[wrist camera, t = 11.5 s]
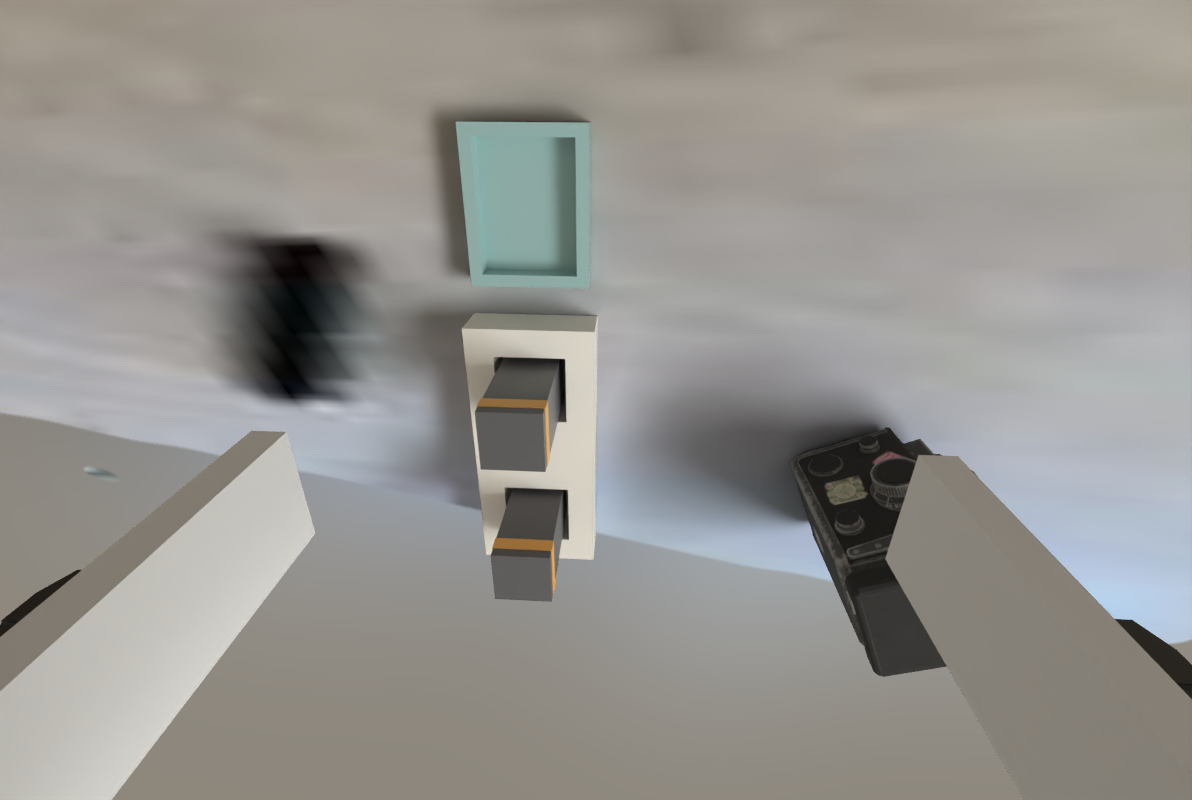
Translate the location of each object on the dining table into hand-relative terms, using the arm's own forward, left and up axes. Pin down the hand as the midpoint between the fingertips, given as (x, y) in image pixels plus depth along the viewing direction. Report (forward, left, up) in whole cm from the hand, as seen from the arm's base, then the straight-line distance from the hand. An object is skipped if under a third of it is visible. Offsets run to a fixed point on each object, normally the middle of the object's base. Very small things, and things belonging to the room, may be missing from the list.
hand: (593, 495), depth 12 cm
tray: (-2, -6, -29) cm, 29 cm away
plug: (+10, -6, -28) cm, 31 cm away
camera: (+18, +20, -29) cm, 39 cm away
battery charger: (+16, -6, -29) cm, 33 cm away
